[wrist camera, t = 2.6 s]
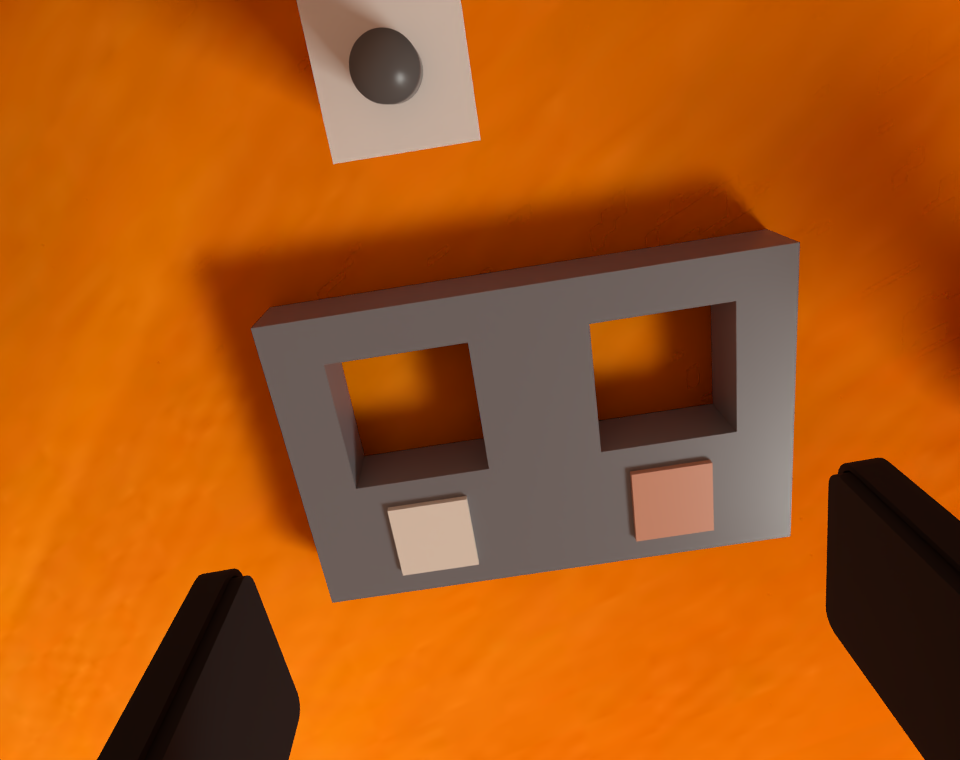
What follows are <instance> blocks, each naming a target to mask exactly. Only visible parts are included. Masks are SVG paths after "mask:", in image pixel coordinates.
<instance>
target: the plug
mask: <svg viewBox="0 0 960 760" xmlns="http://www.w3.org/2000/svg"><path fill="white" fill-rule="evenodd" d="M296 1H297V5H298V9H299V14H300V18H301V23H302V27H303V32H304V36H305V40H306V45H307V49H308V54H309V58H310V63H311V67H312V71H313V76H314V80H315V85H316V89H317V94H318V98H319V102H320V107H321V111H322V116H323V120H324V125H325V129H326V134H327V138H328V142H329V147H330V151H331V156H332V160H333V164H336V163H343V162H349V161H355V160H361V159H367V158H373V157H379V156H385V155H392V154H398V153H404V152H410V151H416V150H422V149H428V148H434V147H441V146H447V145H453V144H459V143H465V142H471V141H477V140H481V139H480V132H479V125H478V118H477V111H476V104H475V97H474V90H473V83H472V76H471V69H470V62H469V55H468V48H467V41H466V34H465V27H464V20H463V13H462V6H461V0H296Z"/></svg>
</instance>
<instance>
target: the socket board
mask: <svg viewBox="0 0 960 760" xmlns="http://www.w3.org/2000/svg"><path fill="white" fill-rule="evenodd" d="M799 249H800V242H798V241H795V240H793V239H790V238H788V237H785V236H783V235H780V234H778V233H775V232H773V231H770V230H768V229H765V230H758V231H752V232H746V233H739V234H733V235H727V236H720V237H714V238H708V239H701V240H695V241H689V242H682V243H676V244H670V245H663V246H657V247H650V248H644V249H638V250H631V251H625V252H619V253H612V254H606V255H600V256H593V257H587V258H581V259H574V260H568V261H562V262H555V263H549V264H543V265H536V266H530V267H524V268H517V269H511V270H505V271H498V272H492V273H486V274H479V275H473V276H466V277H460V278H454V279H447V280H441V281H435V282H428V283H422V284H416V285H409V286H403V287H397V288H390V289H384V290H378V291H371V292H365V293H359V294H352V295H346V296H340V297H333V298H327V299H321V300H314V301H308V302H302V303H295V304H289V305H282V306H276V307H270V308H269V309H268V310H267V311H266V312H265V313H264V315H263V316H262V317H261V318H260V319H259V320H258V321H257V322H256V323H255V324H254V325H253V327H252V328H251V331H252V334H253V338H254V341H255V344H256V348H257V351H258V354H259V358H260V361H261V365H262V368H263V371H264V375H265V378H266V381H267V385H268V388H269V391H270V395H271V398H272V401H273V405H274V408H275V412H276V415H277V418H278V422H279V425H280V428H281V432H282V435H283V438H284V442H285V445H286V448H287V452H288V455H289V458H290V462H291V465H292V469H293V472H294V475H295V479H296V482H297V485H298V489H299V492H300V495H301V499H302V502H303V505H304V509H305V512H306V515H307V519H308V522H309V526H310V529H311V532H312V536H313V539H314V542H315V546H316V549H317V552H318V556H319V559H320V562H321V566H322V569H323V573H324V576H325V579H326V583H327V586H328V589H329V593H330V596H331V599H332V603H333V602H340V601H347V600H354V599H361V598H368V597H375V596H382V595H388V594H395V593H402V592H409V591H416V590H423V589H430V588H437V587H444V586H450V585H457V584H464V583H471V582H478V581H485V580H492V579H499V578H506V577H512V576H519V575H526V574H533V573H540V572H547V571H554V570H561V569H568V568H575V567H581V566H588V565H595V564H602V563H609V562H616V561H623V560H630V559H637V558H643V557H650V556H657V555H664V554H671V553H678V552H685V551H692V550H699V549H705V548H712V547H719V546H726V545H733V544H740V543H747V542H754V541H761V540H767V539H774V538H781V537H788V536H790V530H791V499H792V468H793V437H794V405H795V374H796V343H797V312H798V280H799ZM707 305H711V343H712V394H713V404H707V405H700V406H694V407H687V408H680V409H674V410H667V411H660V412H654V413H647V414H641V415H634V416H627V417H621V418H614V419H607V420H601V421H598V413H597V402H596V392H595V381H594V370H593V360H592V349H591V338H590V327H589V324H591V323H598V322H604V321H611V320H617V319H623V318H630V317H636V316H643V315H649V314H656V313H662V312H669V311H675V310H682V309H688V308H694V307H701V306H707ZM462 343H468V346H469V352H470V358H471V364H472V370H473V376H474V382H475V388H476V394H477V400H478V406H479V412H480V418H481V424H482V430H483V436H484V438H482V439H475V440H468V441H462V442H455V443H448V444H442V445H435V446H429V447H422V448H415V449H409V450H402V451H395V452H389V453H382V454H376V455H369V456H364V452H363V448H362V444H361V440H360V436H359V432H358V428H357V424H356V420H355V416H354V412H353V408H352V404H351V400H350V396H349V392H348V388H347V384H346V380H345V376H344V372H343V368H342V364H341V362H346V361H352V360H359V359H365V358H372V357H378V356H385V355H391V354H397V353H404V352H410V351H417V350H423V349H430V348H436V347H443V346H449V345H456V344H462Z"/></svg>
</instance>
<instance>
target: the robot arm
mask: <svg viewBox="0 0 960 760" xmlns="http://www.w3.org/2000/svg"><path fill="white" fill-rule="evenodd" d="M826 612H827V617H828V620H829V623H830V625H831V627H832V629H833V631H834V633H835V634H836V636H837V637H838V638H839V640H840V641H841V643H842V644H843V645H844V647H845V648H846V650H847V651H848V653H849V654H850V655H851V657H852V658H853V660H854V661H855V662H856V664H857V665H858V667H859V668H860V669H861V671H862V672H863V674H864V675H865V676H866V678H867V679H868V681H869V682H870V683H871V685H872V686H873V688H874V689H875V690H876V692H877V693H878V695H879V696H880V697H881V699H882V700H883V702H884V703H885V704H886V706H887V707H888V709H889V710H890V711H891V713H892V714H893V716H894V717H895V718H896V720H897V721H898V723H899V724H900V725H901V727H902V728H903V730H904V731H905V732H906V734H907V735H908V737H909V738H910V740H911V741H912V742H913V744H914V745H915V747H916V748H917V749H918V751H919V752H920V754H921V755H922V756H923V758H924V759H925V760H960V521H959V520H958V519H957V518H956V517H955V516H953V515H952V514H951V513H950V512H949V511H947V510H946V509H945V508H944V507H943V506H941V505H940V504H939V503H938V502H936V501H935V500H934V499H933V498H932V497H930V496H929V495H928V494H927V493H926V492H924V491H923V490H922V489H921V488H920V487H918V486H917V485H916V484H915V483H914V482H912V481H911V480H910V479H909V478H908V477H906V476H905V475H904V474H903V473H902V472H900V471H899V470H898V469H897V468H896V467H894V466H893V465H892V464H891V463H890V462H888V461H887V460H885V459H883V458H874V459H868V460H862V461H856V462H850V463H845V464H843V465H841V466H840V468H839V471H838V474H836V475H832V476H831V477H830V479H829V491H828V535H827V579H826ZM299 715H300V703H299V697H298V693H297V691H296V688H295V685H294V683H293V680H292V678H291V675H290V673H289V670H288V667H287V665H286V662H285V660H284V657H283V655H282V652H281V649H280V647H279V644H278V642H277V639H276V637H275V634H274V631H273V629H272V626H271V624H270V621H269V619H268V616H267V613H266V611H265V608H264V606H263V603H262V601H261V598H260V595H259V593H258V590H257V588H256V585H255V583H254V581H253V579H252V578H251V577H250V576H248V575H247V576H242V574H241V572H240V571H239V570H238V569H229V570H223V571H217V572H211V573H206V574H202V575H199V576H198V577H197V579H196V580H195V582H194V583H193V585H192V587H191V589H190V591H189V593H188V594H187V596H186V598H185V600H184V602H183V604H182V605H181V607H180V609H179V611H178V613H177V615H176V616H175V618H174V620H173V622H172V624H171V626H170V627H169V629H168V631H167V633H166V635H165V636H164V638H163V640H162V642H161V644H160V646H159V647H158V649H157V651H156V653H155V655H154V657H153V658H152V660H151V662H150V664H149V666H148V668H147V669H146V671H145V673H144V675H143V677H142V679H141V680H140V682H139V684H138V686H137V688H136V689H135V691H134V693H133V695H132V697H131V699H130V700H129V702H128V704H127V706H126V708H125V710H124V711H123V713H122V715H121V717H120V719H119V721H118V722H117V724H116V726H115V728H114V730H113V732H112V733H111V735H110V737H109V739H108V741H107V742H106V744H105V746H104V748H103V750H102V752H101V753H100V755H99V757H98V759H97V760H289V756H290V752H291V748H292V744H293V740H294V736H295V732H296V729H297V725H298V721H299Z"/></svg>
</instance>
